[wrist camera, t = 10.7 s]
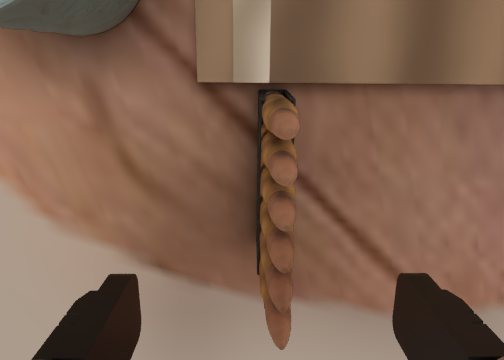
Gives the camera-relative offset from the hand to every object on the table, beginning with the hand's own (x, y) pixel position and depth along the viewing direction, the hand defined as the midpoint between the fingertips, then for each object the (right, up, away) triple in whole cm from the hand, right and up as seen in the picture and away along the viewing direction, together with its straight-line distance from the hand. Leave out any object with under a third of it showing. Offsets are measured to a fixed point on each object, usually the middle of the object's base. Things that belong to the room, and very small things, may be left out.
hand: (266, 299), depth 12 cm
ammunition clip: (+1, +4, +14) cm, 15 cm away
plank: (+9, +13, +12) cm, 20 cm away
